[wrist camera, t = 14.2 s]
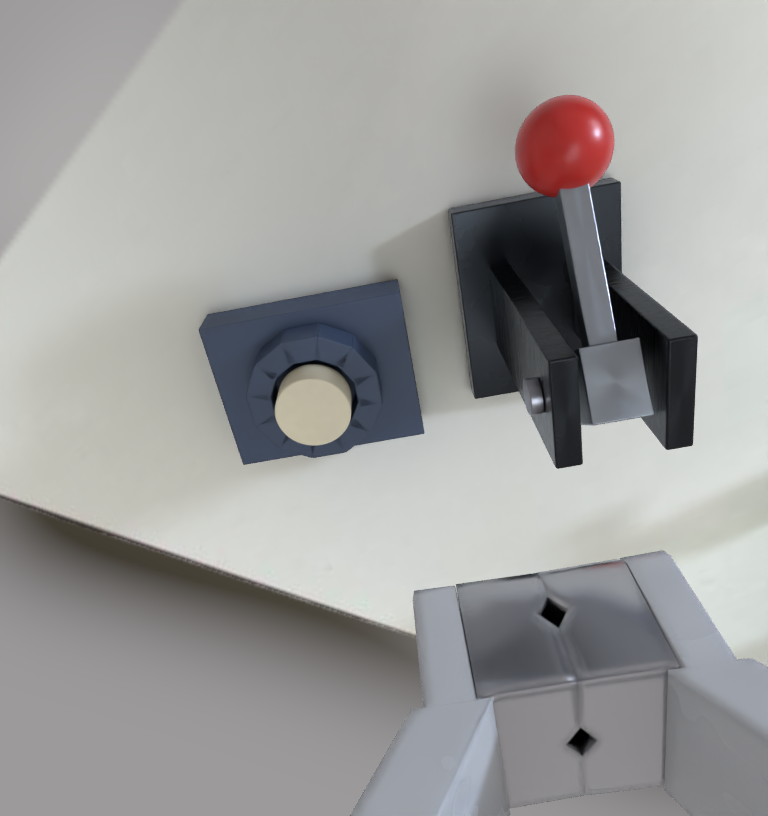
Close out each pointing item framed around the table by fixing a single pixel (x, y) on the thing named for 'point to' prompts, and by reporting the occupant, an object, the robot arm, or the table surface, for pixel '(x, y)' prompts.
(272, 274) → the table surface
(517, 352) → the bracket
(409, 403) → the button box
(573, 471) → the table surface
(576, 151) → the lever
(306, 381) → the button
